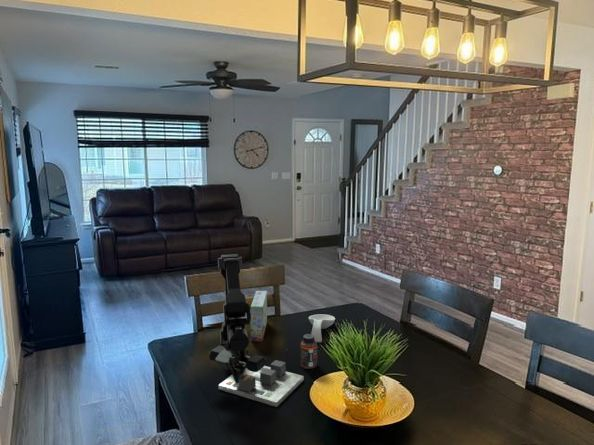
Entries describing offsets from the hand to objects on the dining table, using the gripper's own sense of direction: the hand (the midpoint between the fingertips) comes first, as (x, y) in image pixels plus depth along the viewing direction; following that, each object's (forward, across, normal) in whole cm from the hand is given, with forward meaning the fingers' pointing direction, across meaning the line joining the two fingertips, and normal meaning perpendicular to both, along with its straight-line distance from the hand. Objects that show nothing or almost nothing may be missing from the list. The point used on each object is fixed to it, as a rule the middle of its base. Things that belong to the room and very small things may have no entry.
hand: (237, 382), depth 145 cm
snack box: (+3, -20, +43) cm, 48 cm away
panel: (+3, +5, +7) cm, 9 cm away
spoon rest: (+3, +3, +56) cm, 56 cm away
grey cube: (+1, +4, 0) cm, 4 cm away
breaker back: (+1, +7, +13) cm, 15 cm away
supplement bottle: (+3, +13, +26) cm, 29 cm away
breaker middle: (+1, +8, +7) cm, 10 cm away
